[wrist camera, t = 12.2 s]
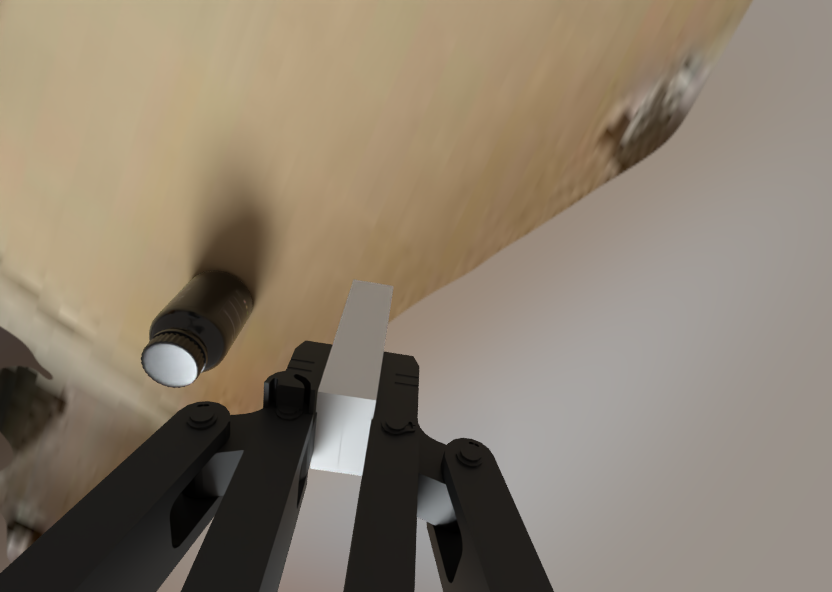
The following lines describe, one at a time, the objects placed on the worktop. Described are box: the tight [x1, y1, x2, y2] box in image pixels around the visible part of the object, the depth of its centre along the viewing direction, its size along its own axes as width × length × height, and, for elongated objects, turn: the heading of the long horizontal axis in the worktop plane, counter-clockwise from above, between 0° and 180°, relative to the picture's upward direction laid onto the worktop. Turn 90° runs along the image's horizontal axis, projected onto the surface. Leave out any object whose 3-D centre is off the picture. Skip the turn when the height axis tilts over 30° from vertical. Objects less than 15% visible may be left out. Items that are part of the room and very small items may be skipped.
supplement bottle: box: [141, 271, 252, 388], centre depth 47 cm, size 7×7×12 cm
